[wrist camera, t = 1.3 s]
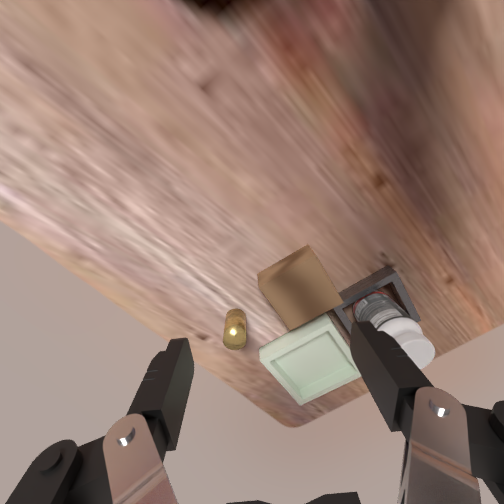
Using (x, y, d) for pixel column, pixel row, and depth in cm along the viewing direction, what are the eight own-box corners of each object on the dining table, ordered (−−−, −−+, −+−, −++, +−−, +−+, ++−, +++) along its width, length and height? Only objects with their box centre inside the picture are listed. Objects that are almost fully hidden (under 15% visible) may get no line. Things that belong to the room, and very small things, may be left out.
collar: (388, 265, 33) (396, 271, 31) (412, 312, 36) (421, 320, 34) (327, 299, 35) (332, 307, 33) (355, 341, 38) (361, 350, 36)
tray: (325, 311, 36) (331, 322, 34) (359, 361, 40) (366, 373, 37) (259, 348, 38) (260, 360, 36) (297, 392, 42) (300, 405, 40)
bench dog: (238, 305, 35) (237, 327, 30) (249, 319, 36) (250, 343, 31) (221, 315, 36) (218, 338, 31) (233, 328, 37) (232, 353, 32)
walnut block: (307, 243, 32) (315, 254, 28) (333, 287, 35) (343, 302, 31) (257, 273, 34) (258, 287, 30) (285, 312, 36) (290, 330, 32)
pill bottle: (393, 312, 36) (444, 365, 27) (357, 326, 37) (395, 382, 28) (384, 282, 34) (435, 328, 25) (346, 298, 35) (382, 348, 26)
